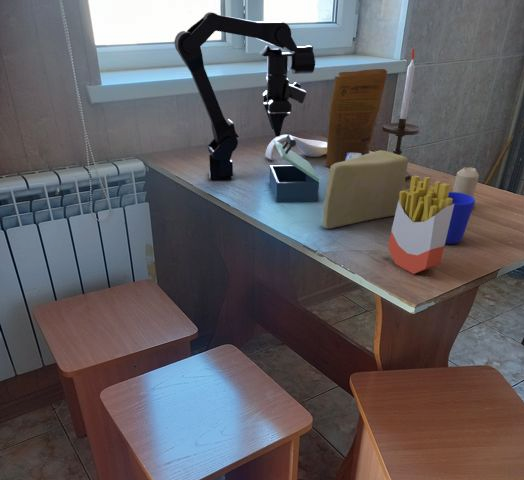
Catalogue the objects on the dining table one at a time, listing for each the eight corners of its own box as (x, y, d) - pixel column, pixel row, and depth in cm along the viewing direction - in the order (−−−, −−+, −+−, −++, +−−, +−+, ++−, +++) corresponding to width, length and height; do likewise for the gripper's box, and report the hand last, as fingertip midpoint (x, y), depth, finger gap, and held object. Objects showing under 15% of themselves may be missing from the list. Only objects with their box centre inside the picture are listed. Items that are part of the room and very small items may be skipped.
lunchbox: (276, 202, 139) (276, 183, 136) (269, 183, 152) (269, 165, 149) (317, 201, 140) (319, 182, 137) (307, 182, 153) (308, 164, 150)
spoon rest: (320, 149, 185) (322, 128, 181) (337, 157, 177) (339, 135, 172) (260, 155, 177) (261, 133, 173) (275, 164, 169) (276, 141, 164)
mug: (407, 233, 123) (415, 192, 117) (456, 232, 124) (466, 191, 118) (418, 247, 116) (427, 204, 110) (470, 246, 117) (481, 203, 111)
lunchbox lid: (281, 157, 132) (291, 141, 130) (273, 141, 146) (282, 126, 143) (318, 181, 137) (328, 166, 135) (307, 164, 150) (317, 150, 148)
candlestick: (389, 183, 154) (411, 49, 134) (369, 173, 162) (386, 45, 142) (418, 179, 158) (443, 48, 137) (397, 169, 166) (418, 44, 145)
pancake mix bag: (379, 165, 169) (393, 69, 153) (327, 170, 164) (335, 71, 148) (369, 160, 175) (382, 66, 158) (318, 164, 169) (326, 68, 153)
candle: (460, 210, 136) (469, 172, 130) (445, 204, 140) (453, 166, 134) (475, 207, 138) (485, 169, 132) (460, 201, 142) (469, 164, 136)
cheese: (337, 235, 121) (344, 171, 112) (310, 222, 127) (315, 160, 119) (400, 216, 132) (410, 156, 123) (372, 205, 138) (380, 147, 130)
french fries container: (421, 279, 103) (441, 191, 93) (385, 259, 111) (399, 175, 100) (437, 274, 105) (458, 187, 95) (400, 254, 113) (416, 172, 102)
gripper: (311, 79, 138) (307, 140, 147) (299, 69, 153) (297, 125, 162) (270, 79, 137) (269, 140, 146) (262, 69, 152) (262, 125, 161)
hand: (275, 132), depth 153 cm, fingers open, 9 cm apart
